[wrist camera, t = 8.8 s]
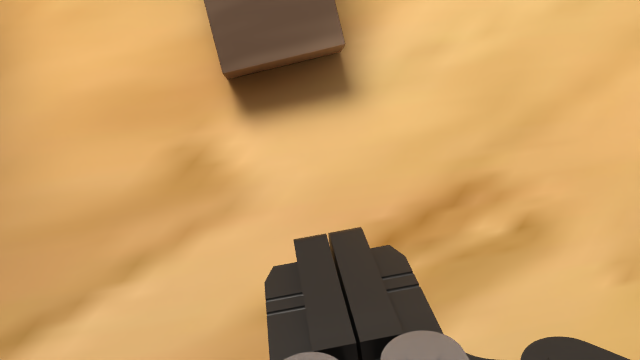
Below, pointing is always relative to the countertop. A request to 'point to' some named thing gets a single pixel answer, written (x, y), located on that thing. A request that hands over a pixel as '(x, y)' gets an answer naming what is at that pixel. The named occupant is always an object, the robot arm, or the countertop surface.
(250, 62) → the domino
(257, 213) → the countertop surface
